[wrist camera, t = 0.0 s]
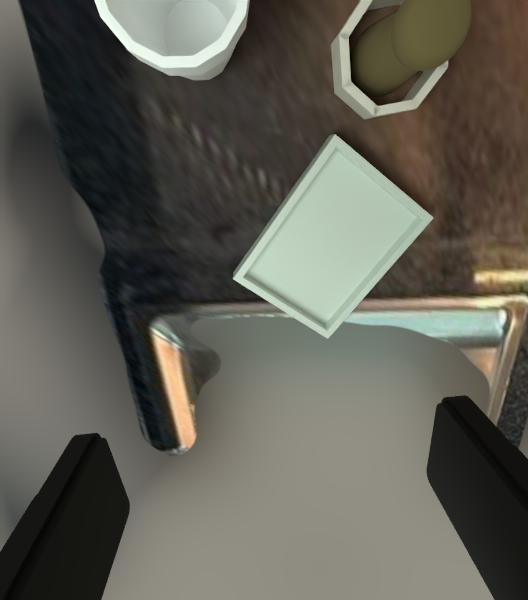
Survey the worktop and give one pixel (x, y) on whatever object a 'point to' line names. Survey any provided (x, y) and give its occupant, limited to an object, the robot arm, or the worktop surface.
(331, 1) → the worktop surface
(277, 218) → the tray
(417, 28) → the cork
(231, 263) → the worktop surface
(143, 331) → the worktop surface
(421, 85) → the collar
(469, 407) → the robot arm
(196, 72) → the foam cup
